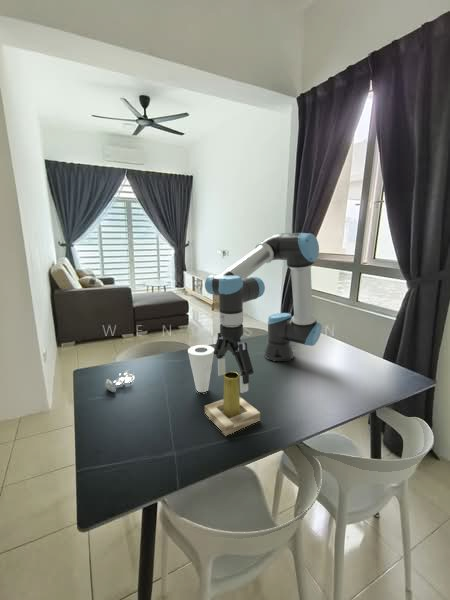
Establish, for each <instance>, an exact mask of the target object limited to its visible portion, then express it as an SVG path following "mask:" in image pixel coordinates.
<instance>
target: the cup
mask: <svg viewBox="0 0 450 600" xmlns="http://www.w3.org/2000/svg"><path fill="white" fill-rule="evenodd" d="M214 349H215V347H213V346H211V345H207V344H198V345H194V346H191V347H189V348H188V349H187V354H188V358H189V362H190V367H191V371H192V376H193V381H194V385H195V386H194V387H195V391H196V390H197V391H198V392H206V391H208V392H209V385H210V381H211V374H212V366H213V361H214V355H215V354H214ZM197 391H196V392H197ZM198 392H197V393H198ZM206 393H207V392H206Z"/></svg>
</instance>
